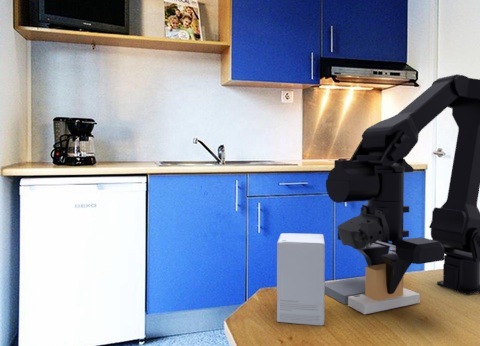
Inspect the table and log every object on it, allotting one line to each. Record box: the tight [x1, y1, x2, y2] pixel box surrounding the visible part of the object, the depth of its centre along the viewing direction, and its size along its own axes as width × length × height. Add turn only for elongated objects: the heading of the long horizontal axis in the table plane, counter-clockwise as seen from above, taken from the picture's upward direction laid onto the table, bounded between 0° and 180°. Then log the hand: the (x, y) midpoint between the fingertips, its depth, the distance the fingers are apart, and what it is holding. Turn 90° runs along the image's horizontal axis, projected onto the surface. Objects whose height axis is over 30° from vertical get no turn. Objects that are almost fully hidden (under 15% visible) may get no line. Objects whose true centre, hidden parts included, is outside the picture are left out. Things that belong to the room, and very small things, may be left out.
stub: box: [347, 264, 421, 315], centre depth 64 cm, size 12×4×6 cm, turn 113°
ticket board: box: [325, 275, 365, 305], centre depth 70 cm, size 12×7×2 cm, turn 113°
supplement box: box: [276, 232, 326, 326], centre depth 60 cm, size 7×7×13 cm
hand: (384, 290), depth 64 cm, fingers closed on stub, 2 cm apart
